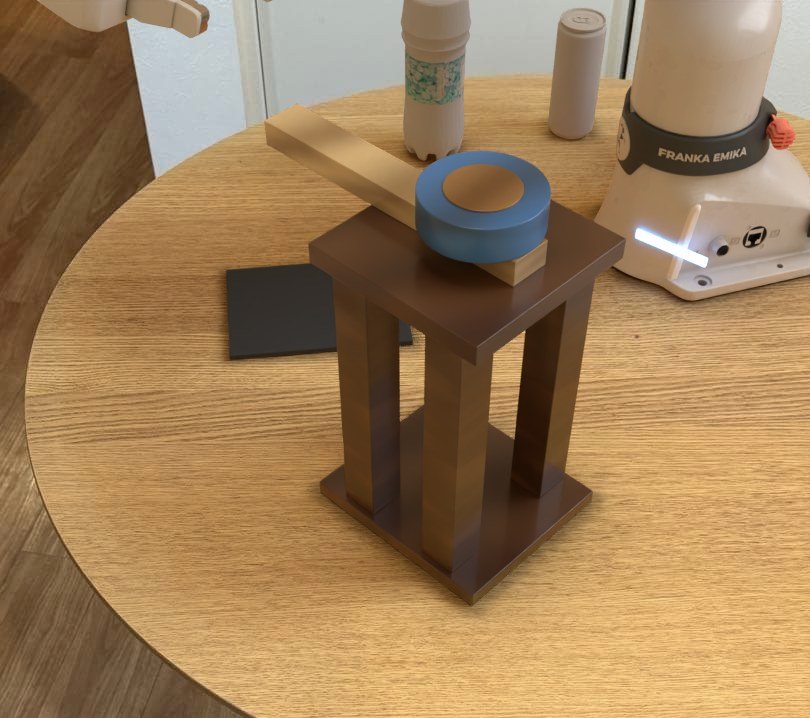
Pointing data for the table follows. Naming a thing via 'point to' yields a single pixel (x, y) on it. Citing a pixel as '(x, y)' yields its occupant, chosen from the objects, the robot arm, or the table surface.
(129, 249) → the table surface
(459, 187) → the tan long bar
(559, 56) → the beverage can
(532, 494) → the stand
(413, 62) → the bottle
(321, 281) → the mat
